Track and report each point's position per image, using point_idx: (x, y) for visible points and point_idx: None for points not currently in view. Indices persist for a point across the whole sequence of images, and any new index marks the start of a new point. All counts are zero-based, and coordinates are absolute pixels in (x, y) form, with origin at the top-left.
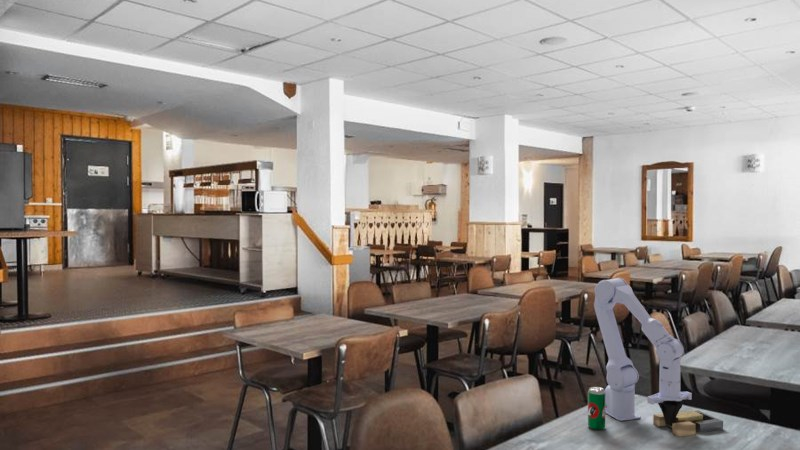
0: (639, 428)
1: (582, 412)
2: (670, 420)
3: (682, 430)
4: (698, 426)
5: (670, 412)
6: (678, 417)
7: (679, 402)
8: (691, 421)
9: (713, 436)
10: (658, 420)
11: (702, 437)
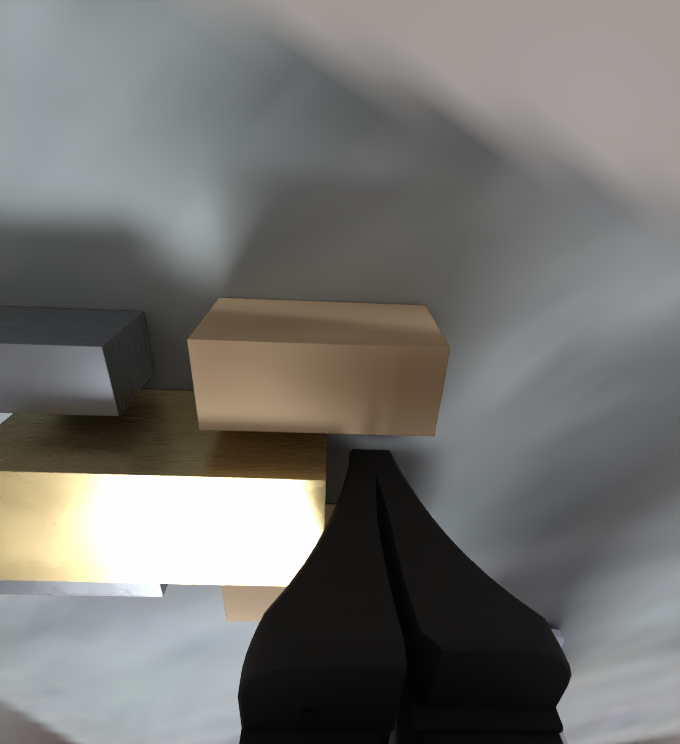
0: (558, 523)
1: (615, 733)
2: (409, 486)
3: (387, 324)
4: (124, 355)
5: (459, 558)
6: (303, 497)
7: (265, 709)
8: (150, 436)
9: (61, 183)
10: None
11: (204, 206)
